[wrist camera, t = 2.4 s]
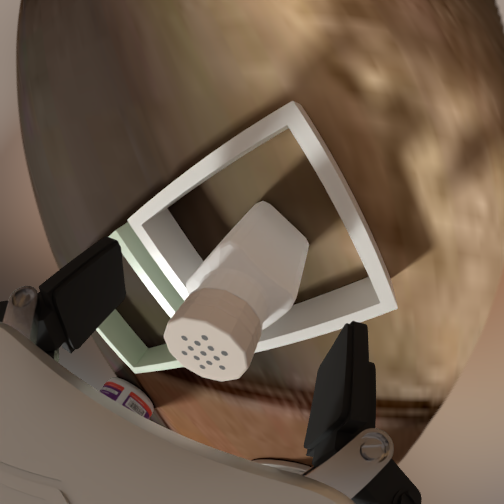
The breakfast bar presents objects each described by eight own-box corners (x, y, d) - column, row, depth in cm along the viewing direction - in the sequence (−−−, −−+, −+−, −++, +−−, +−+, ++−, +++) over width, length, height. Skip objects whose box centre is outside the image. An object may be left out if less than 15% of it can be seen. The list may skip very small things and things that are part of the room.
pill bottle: (112, 389, 37) (67, 451, 24) (109, 365, 33) (52, 438, 20) (155, 415, 36) (113, 483, 24) (158, 396, 32) (107, 478, 20)
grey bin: (390, 279, 16) (397, 308, 13) (243, 330, 21) (231, 357, 19) (300, 104, 13) (292, 100, 10) (153, 204, 18) (126, 219, 16)
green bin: (230, 334, 22) (216, 360, 19) (149, 354, 27) (135, 373, 25) (142, 213, 19) (115, 229, 16) (81, 268, 24) (61, 283, 22)
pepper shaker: (224, 237, 18) (138, 337, 10) (264, 193, 16) (185, 285, 8) (270, 278, 18) (217, 397, 10) (314, 240, 16) (285, 366, 8)
